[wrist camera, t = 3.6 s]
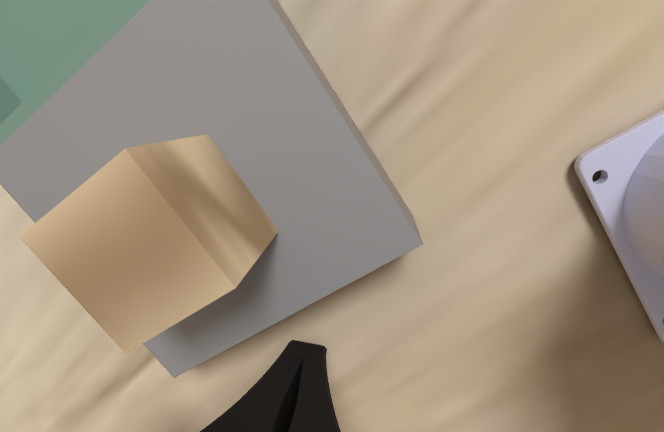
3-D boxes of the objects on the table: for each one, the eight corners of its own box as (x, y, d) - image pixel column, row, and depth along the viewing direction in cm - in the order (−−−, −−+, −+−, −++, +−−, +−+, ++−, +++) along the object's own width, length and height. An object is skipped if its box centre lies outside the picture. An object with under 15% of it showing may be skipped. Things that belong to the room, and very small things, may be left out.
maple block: (278, 230, 12) (235, 288, 8) (197, 282, 13) (125, 353, 9) (208, 133, 11) (124, 148, 8) (127, 196, 12) (19, 236, 9)
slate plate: (413, 216, 14) (422, 244, 12) (206, 334, 18) (173, 377, 15) (257, -31, 12) (223, -71, 10) (53, 153, 16) (-18, 163, 13)
